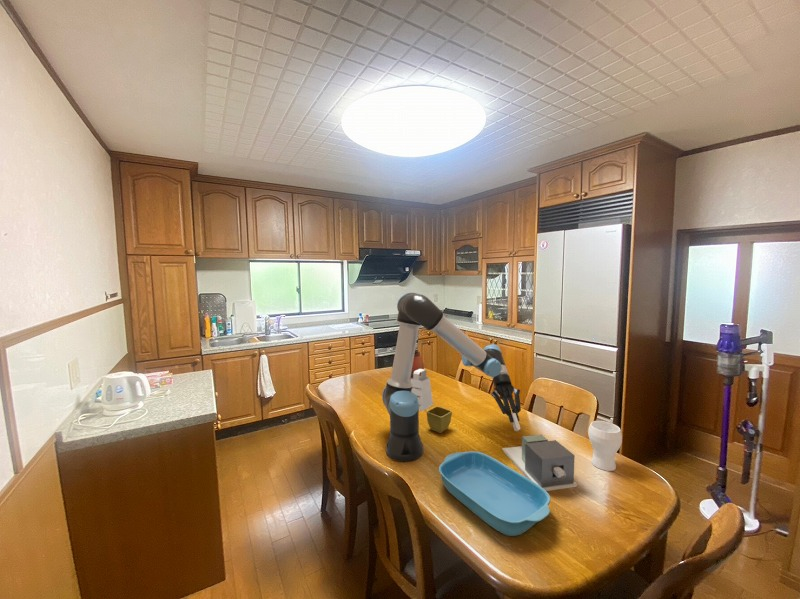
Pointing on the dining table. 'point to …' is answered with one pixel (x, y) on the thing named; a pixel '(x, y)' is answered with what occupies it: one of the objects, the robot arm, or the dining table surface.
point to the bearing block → (548, 463)
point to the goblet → (416, 363)
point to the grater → (422, 389)
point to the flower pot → (439, 418)
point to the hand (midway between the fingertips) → (517, 429)
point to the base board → (516, 458)
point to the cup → (604, 444)
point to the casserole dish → (495, 492)
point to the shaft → (540, 438)
